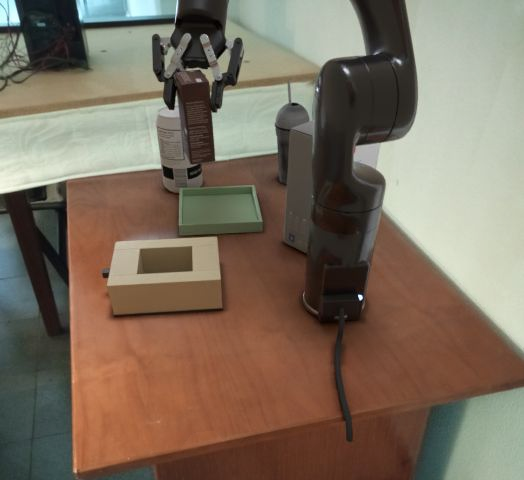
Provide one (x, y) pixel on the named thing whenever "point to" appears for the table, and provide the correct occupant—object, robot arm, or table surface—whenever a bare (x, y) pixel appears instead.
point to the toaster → (164, 276)
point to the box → (195, 116)
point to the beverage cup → (287, 131)
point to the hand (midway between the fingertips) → (191, 108)
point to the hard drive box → (308, 182)
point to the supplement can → (175, 153)
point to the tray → (219, 210)
